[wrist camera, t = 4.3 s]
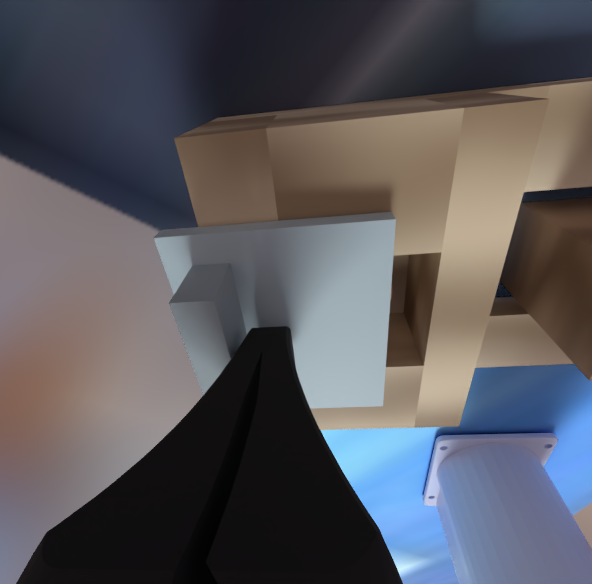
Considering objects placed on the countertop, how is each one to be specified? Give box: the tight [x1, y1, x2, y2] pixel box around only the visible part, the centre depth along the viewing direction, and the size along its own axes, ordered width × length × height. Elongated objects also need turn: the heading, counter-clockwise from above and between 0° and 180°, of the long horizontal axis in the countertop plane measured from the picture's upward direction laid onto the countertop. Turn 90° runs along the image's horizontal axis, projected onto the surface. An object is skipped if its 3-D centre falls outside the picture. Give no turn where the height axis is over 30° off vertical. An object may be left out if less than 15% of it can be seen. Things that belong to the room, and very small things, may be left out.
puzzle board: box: [174, 77, 592, 430], centre depth 13 cm, size 13×25×5 cm, turn 96°
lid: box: [154, 212, 396, 408], centre depth 11 cm, size 8×7×3 cm
